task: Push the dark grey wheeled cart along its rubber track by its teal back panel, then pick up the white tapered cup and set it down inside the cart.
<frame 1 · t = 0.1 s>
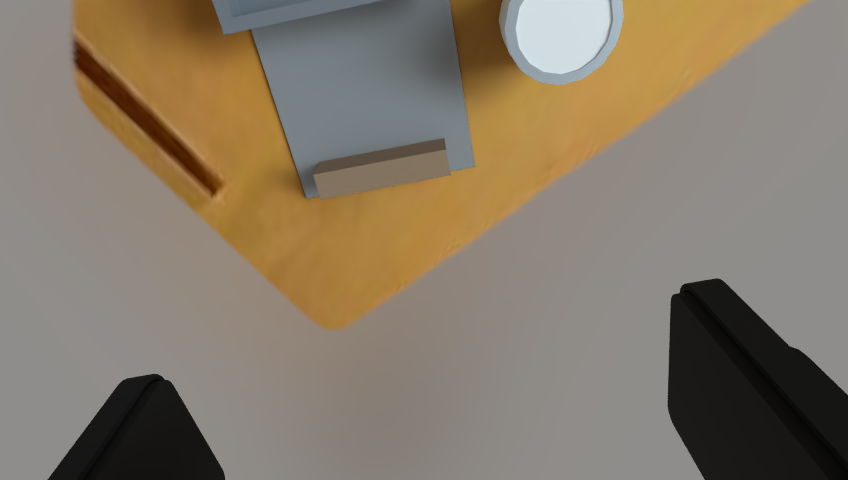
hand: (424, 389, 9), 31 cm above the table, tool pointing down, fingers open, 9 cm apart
white tapered cup: (538, 16, 35), on the table
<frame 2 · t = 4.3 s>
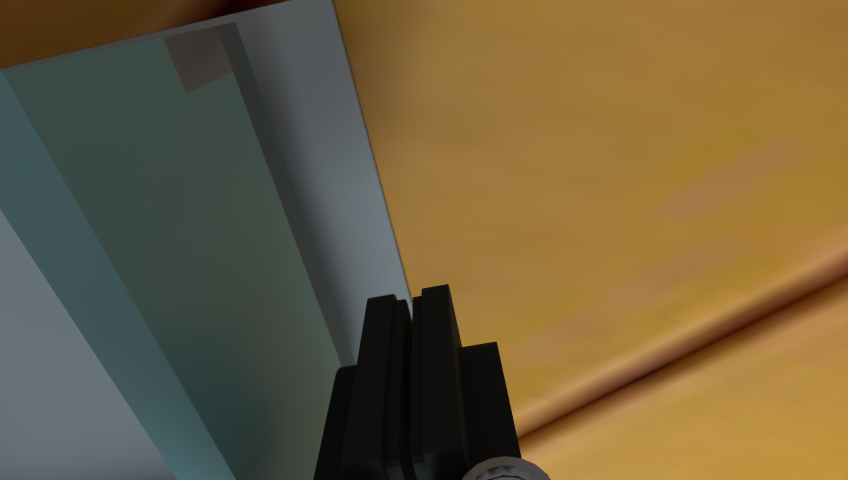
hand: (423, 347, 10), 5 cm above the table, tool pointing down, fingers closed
cart: (48, 394, 12), point 5 cm above the table, slide at 0.3 cm, touching gripper
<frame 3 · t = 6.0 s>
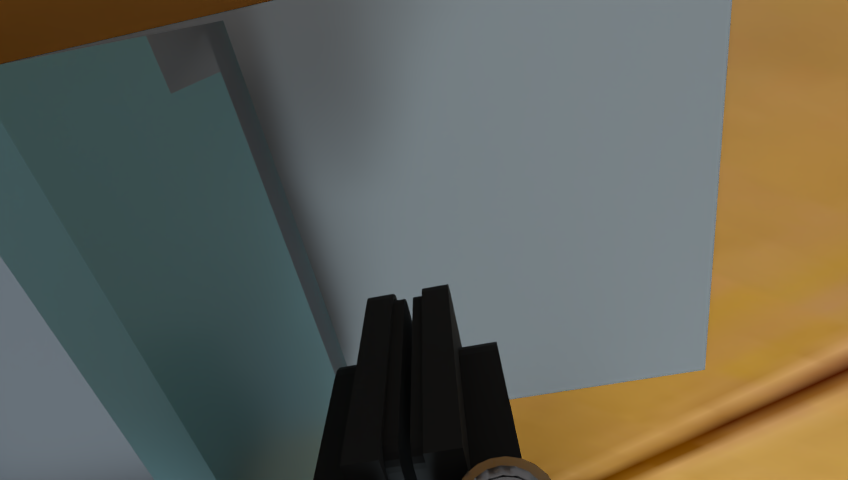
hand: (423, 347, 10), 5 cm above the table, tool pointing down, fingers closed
track: (251, 267, 16), on the table
cart: (32, 401, 12), point 5 cm above the table, slide at 9.9 cm
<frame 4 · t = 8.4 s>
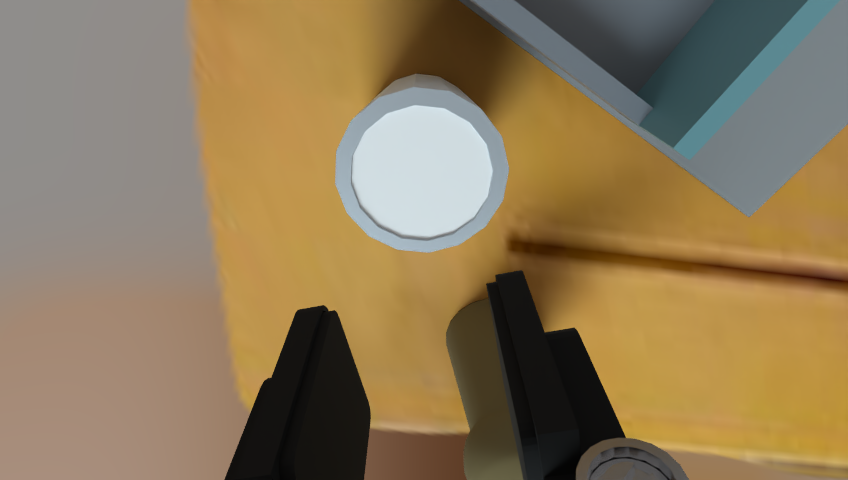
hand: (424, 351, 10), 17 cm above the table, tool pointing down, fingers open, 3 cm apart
white tapered cup: (421, 129, 26), on the table
olive pepper shaker: (492, 335, 32), on the table
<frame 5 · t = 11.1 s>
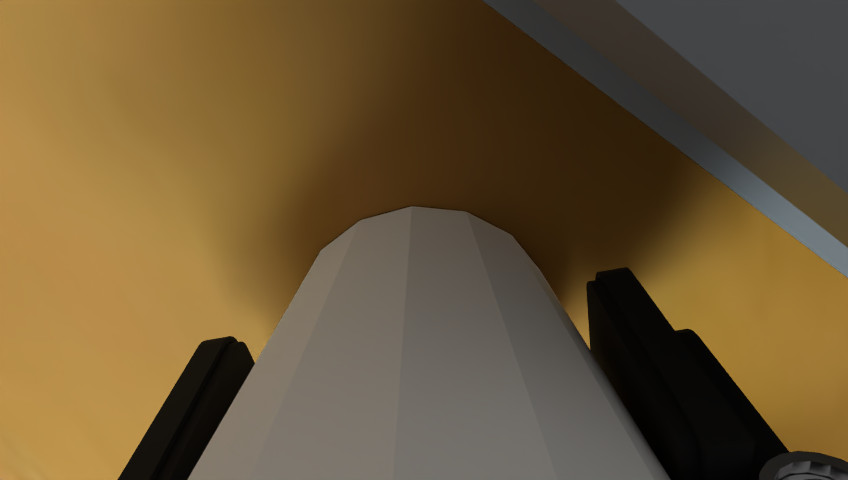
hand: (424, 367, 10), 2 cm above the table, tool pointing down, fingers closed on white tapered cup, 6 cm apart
white tapered cup: (423, 314, 11), on the table, touching gripper
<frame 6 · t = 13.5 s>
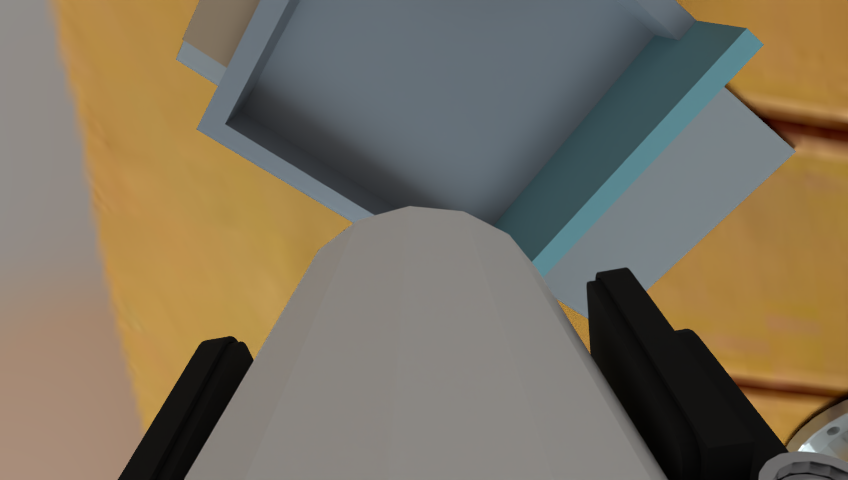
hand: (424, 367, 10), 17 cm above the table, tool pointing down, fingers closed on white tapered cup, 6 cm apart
white tapered cup: (421, 314, 11), point 16 cm above the table, touching gripper
track: (501, 106, 25), on the table
cart: (443, 77, 19), point 5 cm above the table, slide at 9.9 cm
when the fingers open (7 cm above the table, at t = 16.2 s): white tapered cup drops 2 cm, resting on cart.
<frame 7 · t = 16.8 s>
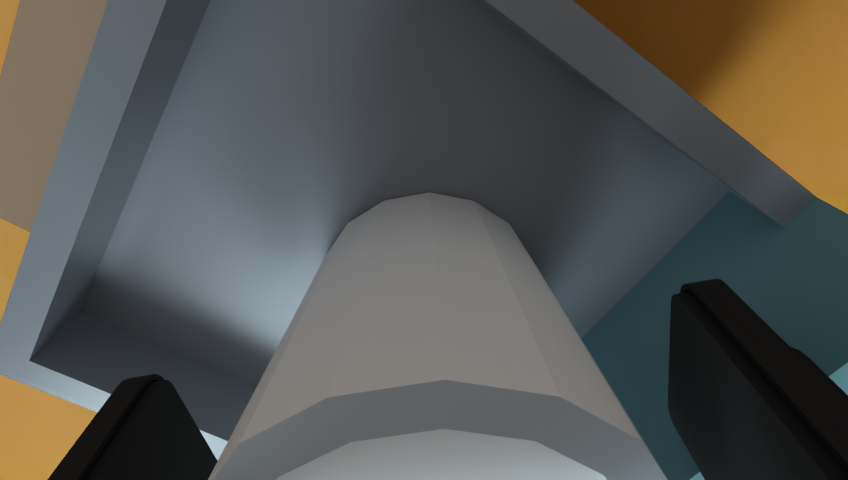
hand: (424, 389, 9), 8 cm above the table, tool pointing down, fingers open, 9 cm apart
white tapered cup: (427, 286, 13), point 4 cm above the table, touching cart
track: (481, 247, 17), on the table
cart: (384, 270, 12), point 5 cm above the table, slide at 9.6 cm, touching white tapered cup
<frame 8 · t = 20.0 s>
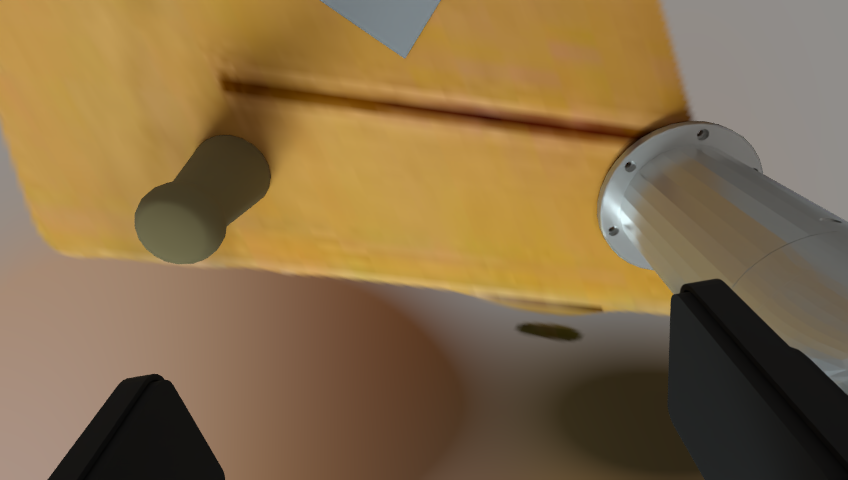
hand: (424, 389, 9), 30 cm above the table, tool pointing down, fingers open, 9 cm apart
olive pepper shaker: (232, 171, 39), on the table
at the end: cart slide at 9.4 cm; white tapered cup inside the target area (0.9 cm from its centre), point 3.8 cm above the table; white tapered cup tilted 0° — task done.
